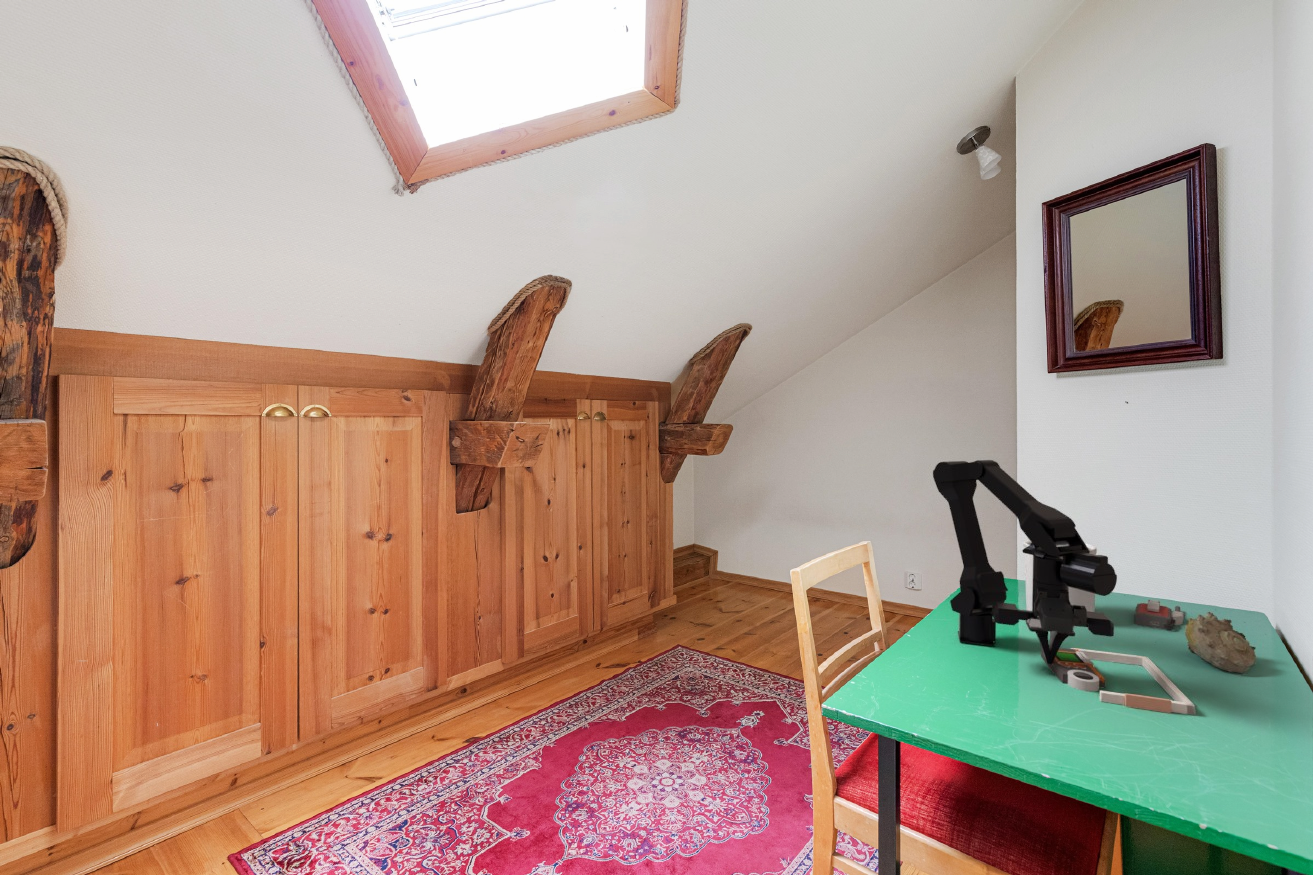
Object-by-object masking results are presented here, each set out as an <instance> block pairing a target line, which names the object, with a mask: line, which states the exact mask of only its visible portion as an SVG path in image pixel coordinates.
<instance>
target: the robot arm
mask: <svg viewBox="0 0 1313 875" xmlns="http://www.w3.org/2000/svg"><path fill="white" fill-rule="evenodd" d="M932 477H933V481H934V483H935V486H936V488H937V491H938V492H939V493H940V495H941V496H942V497H943V498H944V499H945V500H946V502H947V503H948V506H949V511H950V516H951V519H952V524H953V528H954V531H955V535H956V540H957V544H958V548H959V552H960V556H961V557H960V558H961V561H962V564H963V566H962V567H963V569H962V572H961V574H960V578H959V588H960V589H959V590H960V591H959V592H958V593H957V594H956V595H955V596H954V597H952V598H951V600H950V601H949V604H950V607H951V610H952V612H954V613H957V614H958V631H957V636H958V641H959V642H960V643H963V644H971V645H976V646H977V645H978V646H987V647H994V646H995V643H994V642H996V638H997V637H996V636H997V634H996V633H997V631H996V630H997V624H999V625H1005V626H1006V625H1009V626H1016V625H1017V624H1018V623H1019V622H1020V620H1021V621H1025V625H1026V627H1027V628H1028V631H1029V632H1034V633H1035V635H1036V636H1037V638H1038V641H1039V644H1040V648H1041V647H1042V650H1043V653H1044V656H1045V659H1046V662H1047V664H1052V663H1053V661H1054V659H1055V657H1056V654H1057V652H1058V650H1059V648H1061V645H1063V643H1064V641H1065V640H1067V638H1069V637H1075V636H1076V632H1075V631H1074V629H1075V627H1081V628H1087V629H1088V631H1089V633H1091V634H1092V635H1093V636H1103V637H1114V636H1115V626H1114V622H1112V620H1111V619H1110V618H1109V617H1108V616H1107V615H1106V614H1105V613H1104V612H1097V611H1094V612H1089V611H1087V610H1086V607H1085V606H1079V605H1071V604H1070V601H1069V587H1071V588H1075V589H1079V590H1083V591H1086V592H1090V593H1094V594H1095V595H1097V596H1103V597H1104V596H1105V597H1106V596H1108V595H1110V594H1111V593H1112V592H1113V591H1114V590H1115V587H1116V585H1117V581H1118V575H1117V573H1116V571H1115V568H1114V566H1112V564H1110V563H1109V557H1108V556H1107V555H1102V554H1096V555H1093V554H1089V553H1090V551H1089V549H1088V548H1087V546H1086V544H1085V543H1086V542H1084V540H1083V538H1082V537H1081V535H1080V533H1079V532H1078V530H1077V529H1076V524H1075V521H1074V520H1073V519H1072V518H1071V517H1069V516H1068V515H1066V514H1065V513H1063V512H1062V511H1059V510H1058V509H1057V508H1054V507H1052V506H1049V505H1047V504H1045V503H1043V502H1041V501H1039V500H1038V499H1037V498H1035V497H1034V496H1033V495H1032V494H1031V493H1030V492H1028V490H1026V489H1025V488H1024V487H1023V486H1022V485H1020V484H1019V483H1018V482H1017V481H1016V480H1015V479H1014V478H1012V477H1011V475H1009V474H1008V473H1007V472H1006V471H1005V470H1003V468H1001V466H1000V464H999V463H998V462H997V461H996V460H994V459H993V460H992V459H983V460H982V459H980V460H979V459H978V460H975V461H971V462H968V461H967V460H958V461H956V460H955V461H954V460H953V461H951V460H950V461H940V462H938V463H937V464H936V465H935V467H934V469H933V471H932ZM977 481H978V482H980V483H981V484H982V485H983V486H984V488H986V489H987V490H988V491H989V492H990V493H991V494H992V495H993V496H995V497H996V498H997V500H999V501H1000V502H1001V503H1002V504H1003V505H1004V506H1005V507H1006V508H1007V509H1008V510H1009V511H1010V512H1011V513H1012V514H1014V516H1015V517H1016V518H1017V519H1018V524H1019V528H1020V530H1021V531H1022V532H1023V533H1024V535H1025V536H1026V537H1027V539H1028V540H1030V541H1031V542H1032V543H1031V544H1030V545H1029V546H1028V547H1026V548H1025V549H1024V548H1023V549H1022V553H1023V554H1025V553H1026V554H1030V555H1033V591H1032V611H1028V610H1027V609H1019V608H1018V607H1017V605H1016V603H1010V602H1006V601H1007V597H1008V596H1007V592H1008V591H1009V589H1008V587H1007V586H1006V583H1005V575H1004V573H1003V571H997V570H995V569H994V567H992V566H991V565H990V563H989V559H988V553H987V549H986V547H985V543H984V538H983V533H982V529H981V527H980V526H981V525H980V523H979V519H978V518H979V517H978V514H977V510H976V508H975V507H976V506H975V503H974V497H975V492H976V490H977V487H978V485H977ZM1066 544H1068V545H1069V546H1059V547H1057V545H1066ZM1047 664H1046V665H1047Z"/></svg>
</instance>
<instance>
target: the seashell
mask: <svg viewBox="0 0 1313 875" xmlns="http://www.w3.org/2000/svg"><path fill="white" fill-rule="evenodd" d="M1184 628H1185V632H1184V633H1185V634H1184V635H1185V637H1186V640H1187V646H1188V650H1189V651H1190V652H1191V653H1192V654H1196V655H1198V656H1199V657H1200V658H1201V659H1203V660H1204V661H1206V662H1207V663H1210V664H1211V665H1212V666H1214V667H1216V668H1219V669H1220V670H1223V671H1225V672H1229V673H1238V674H1244V673H1245V672H1246V671H1247V670H1249V669H1250V667H1251V666H1253V665H1254V663H1255V661H1256V658H1257V657H1256V651H1255V650H1256V648H1257V647H1255V646H1252V645H1250V644H1251V643H1250V642H1249V641H1248V640H1247V638H1246V636H1245V634H1244V633H1243V632H1239V631H1238V630H1235V629H1234V627H1233V625H1232V620H1231V619H1228V618H1223V619H1218V617H1217V616H1216V615H1215V614H1214V613H1213V612H1210V611H1207V612H1206V616H1204V615H1202V614H1198V617H1197V618H1188V623H1187V624H1186V625H1185V626H1184Z"/></svg>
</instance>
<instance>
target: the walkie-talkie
mask: <svg viewBox="0 0 1313 875" xmlns="http://www.w3.org/2000/svg"><path fill="white" fill-rule="evenodd" d="M1134 611H1135V612H1134V624H1135V625H1137V626H1142V627H1149V628H1152V629H1153V628H1154V629H1159V630H1165V631H1169V630H1170V631H1171V630H1172V629H1174V626H1179V625H1183V624H1184V623H1183V621H1184V612H1183V611H1181V607H1180V605H1175V606H1174V610H1172V608H1170V607H1168V606H1165V605H1161V601H1160V600H1159V601H1158V600H1153V599H1148V600H1147V603H1145V602H1141V603H1137V604H1136V606H1135V610H1134Z"/></svg>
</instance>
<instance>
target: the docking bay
mask: <svg viewBox="0 0 1313 875" xmlns="http://www.w3.org/2000/svg"><path fill="white" fill-rule="evenodd" d="M1070 649H1078V650H1079V651H1080V652H1083V653H1084V654H1085V655H1086V656H1087V657H1088V658H1089V659H1090V660H1096V661H1103V662H1112V663H1119V664H1125V665H1126V664H1127V665H1134V666H1135V665H1136V666H1142V667H1143V668H1144V669H1145V670H1146V671H1147V672H1148V673H1149V674H1150V676H1151V677H1152V678H1154V679H1155V681H1156V682H1157V683H1158V685H1159V686H1161V688H1162V689H1163V690H1164V691H1165V692H1166V693H1167V694H1168V695H1169V696H1170V697H1171V698H1172V700H1171V699H1168V698H1161V697H1156V696H1155V697H1154V696H1148V695H1141V694H1132V693H1126V692H1125V693H1121V692H1120V693H1119V692H1114V691H1113V692H1112V691H1108V690H1100V689H1099V701H1100V702H1102V703H1109V704H1114V705H1115V704H1116V705H1123V706H1125V707H1127V708H1133V709H1140V710H1145V711H1146V710H1147V711H1154V712H1161V713H1167V714H1172V713H1175V714H1176V713H1177V714H1184V715H1190V716H1196V706H1195V705H1194V703H1193V702H1192V701H1191V700H1190V699H1189V697H1187V696H1186V695H1185V694H1184V693H1183V692H1182V691H1181V690H1180V689H1179V688H1178V687H1177V686H1176V685H1175V683H1173V682H1172V681H1171V679H1169V677H1167V675H1166V674H1165V673H1164V672H1163V671H1162V670H1161V669H1160V668H1159V667H1158V666H1156V664H1155V663H1154V662H1153V661H1152V660H1151V659H1150V658H1149V657H1148V656H1144V655H1135V654H1134V655H1133V654H1126V653H1125V654H1124V653H1118V652H1110V651H1102V650H1093V649H1084V648H1077V647H1070Z"/></svg>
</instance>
